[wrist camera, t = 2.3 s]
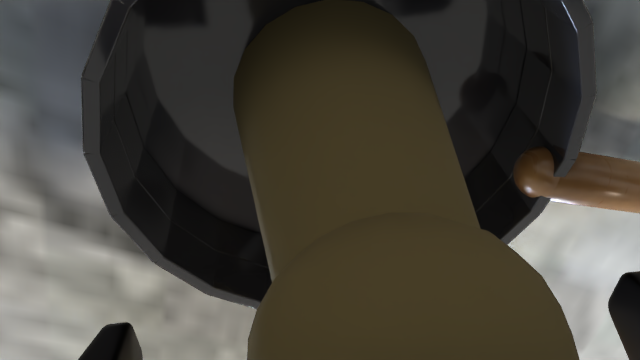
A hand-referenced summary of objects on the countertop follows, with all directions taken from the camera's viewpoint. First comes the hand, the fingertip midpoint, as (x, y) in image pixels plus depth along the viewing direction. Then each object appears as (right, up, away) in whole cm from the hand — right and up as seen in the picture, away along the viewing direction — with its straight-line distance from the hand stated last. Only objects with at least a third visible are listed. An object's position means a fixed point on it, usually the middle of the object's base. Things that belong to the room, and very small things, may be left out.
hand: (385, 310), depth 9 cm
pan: (-1, +5, +7) cm, 8 cm away
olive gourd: (-1, +5, +7) cm, 8 cm away
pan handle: (+9, +3, +7) cm, 12 cm away
